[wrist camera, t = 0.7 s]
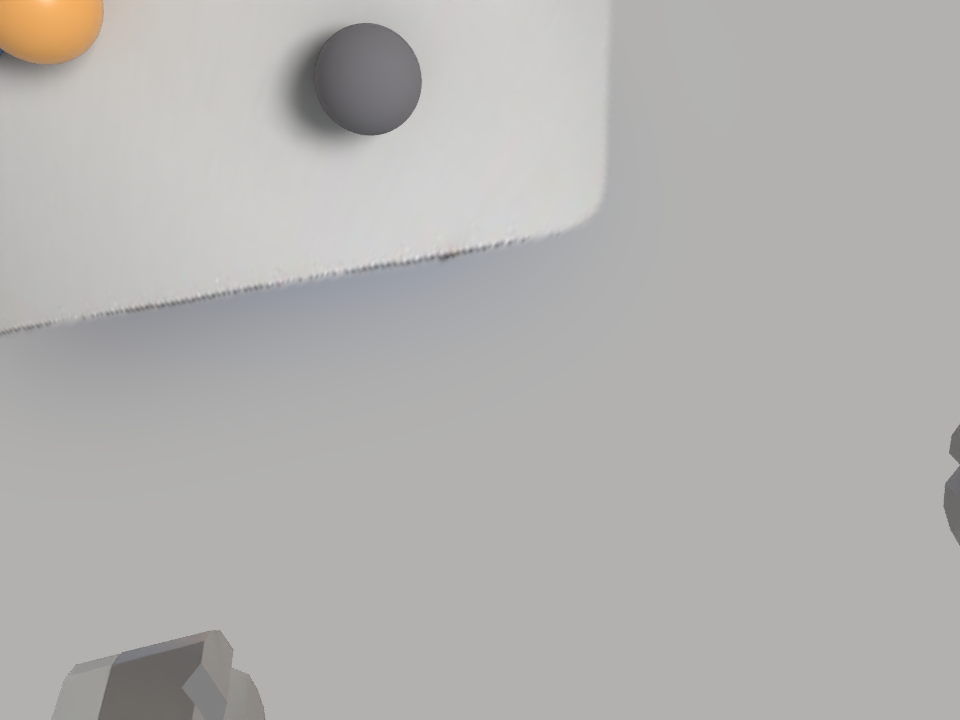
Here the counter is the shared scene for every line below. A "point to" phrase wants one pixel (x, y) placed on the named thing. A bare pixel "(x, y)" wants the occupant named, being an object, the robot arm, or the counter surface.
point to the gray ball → (368, 79)
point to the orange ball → (49, 28)
